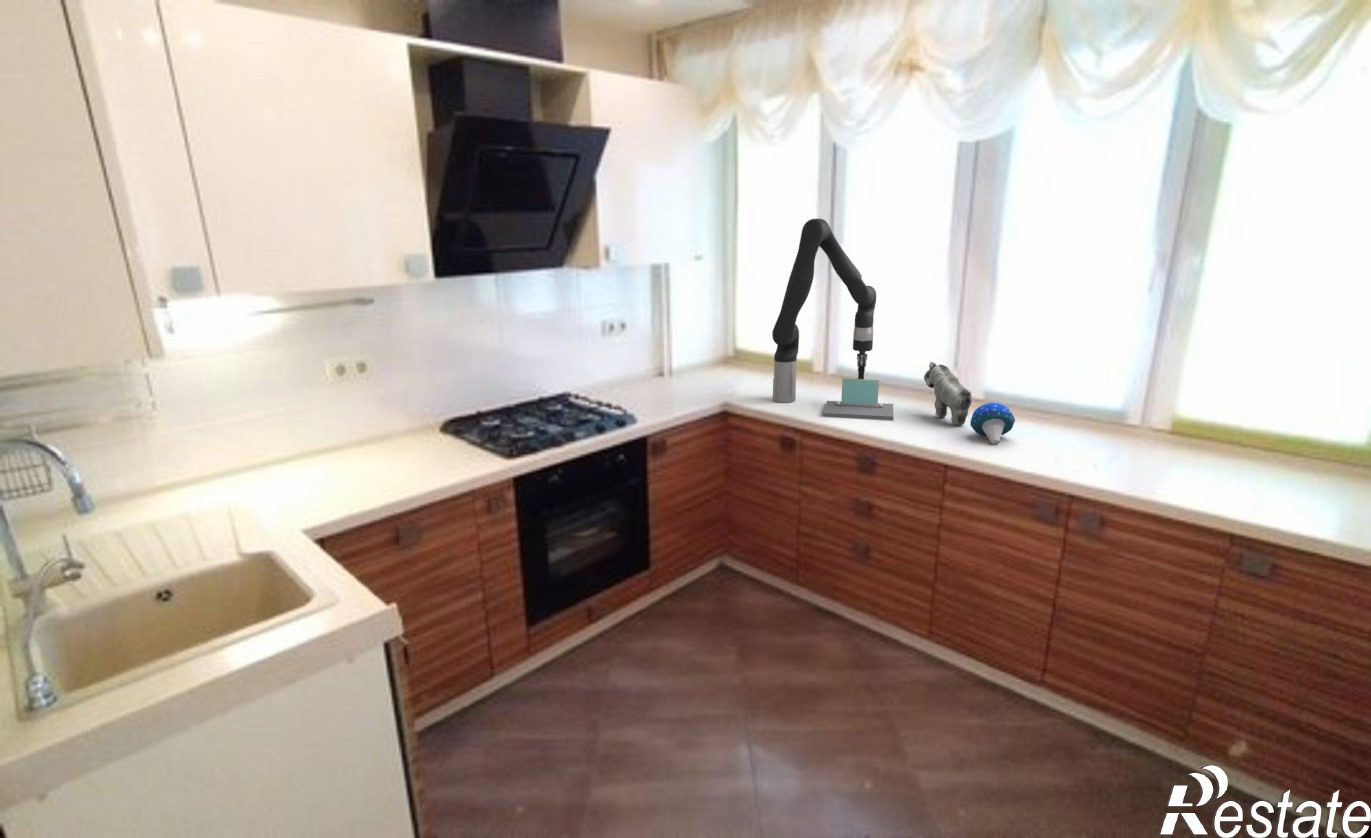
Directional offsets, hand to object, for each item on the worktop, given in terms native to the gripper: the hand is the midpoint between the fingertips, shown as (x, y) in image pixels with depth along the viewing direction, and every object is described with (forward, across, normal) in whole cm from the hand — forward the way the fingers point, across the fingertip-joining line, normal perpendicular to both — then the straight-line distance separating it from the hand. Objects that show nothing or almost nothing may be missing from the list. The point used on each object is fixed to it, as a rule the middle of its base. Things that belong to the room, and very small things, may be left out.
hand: (860, 380), depth 265 cm
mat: (+11, +7, 0) cm, 13 cm away
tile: (+4, +2, 0) cm, 4 cm away
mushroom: (+11, +31, +45) cm, 55 cm away
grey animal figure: (+11, +10, +31) cm, 34 cm away
